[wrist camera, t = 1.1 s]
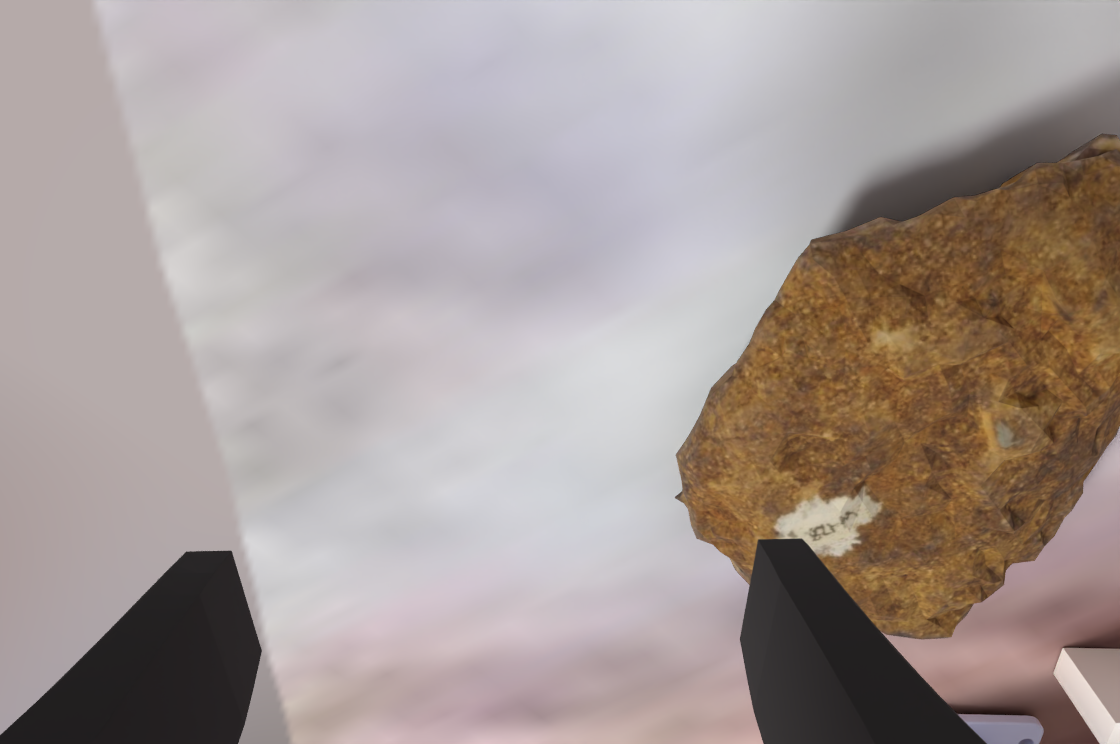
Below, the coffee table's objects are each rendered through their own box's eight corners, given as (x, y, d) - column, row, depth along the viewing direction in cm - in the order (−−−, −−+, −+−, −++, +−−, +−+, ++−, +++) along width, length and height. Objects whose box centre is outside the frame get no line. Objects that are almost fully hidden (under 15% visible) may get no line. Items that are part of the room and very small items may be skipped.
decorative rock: (842, 34, 19) (628, 502, 26) (889, 52, 15) (625, 591, 22) (1266, 189, 20) (946, 604, 27) (1406, 241, 16) (993, 706, 23)
